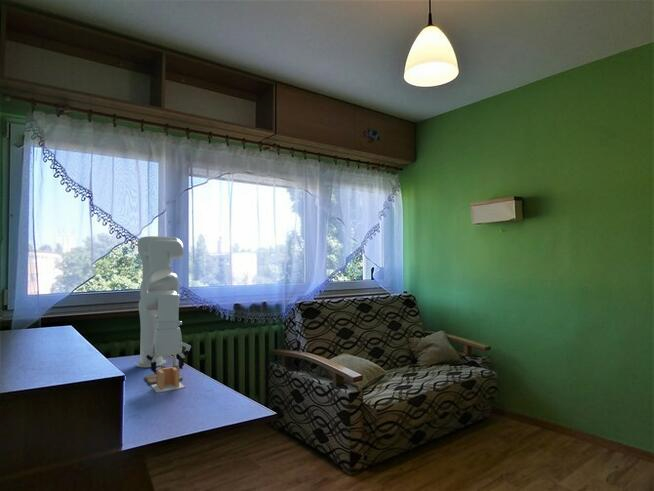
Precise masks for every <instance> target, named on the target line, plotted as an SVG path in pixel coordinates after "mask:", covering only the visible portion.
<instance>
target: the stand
mask: <svg viewBox="0 0 654 491" xmlns="http://www.w3.org/2000/svg"><path fill="white" fill-rule="evenodd" d="M163 368H167V365H166V364H164V365H161V366H160V369H163ZM144 380H146V382H147V383H148V384H149V386H151V385H154V384H157V373H153V374H147V375H144ZM183 380H184V379H183V377H182V376H181V375H180V374H179V382H180V381H183Z"/></svg>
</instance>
